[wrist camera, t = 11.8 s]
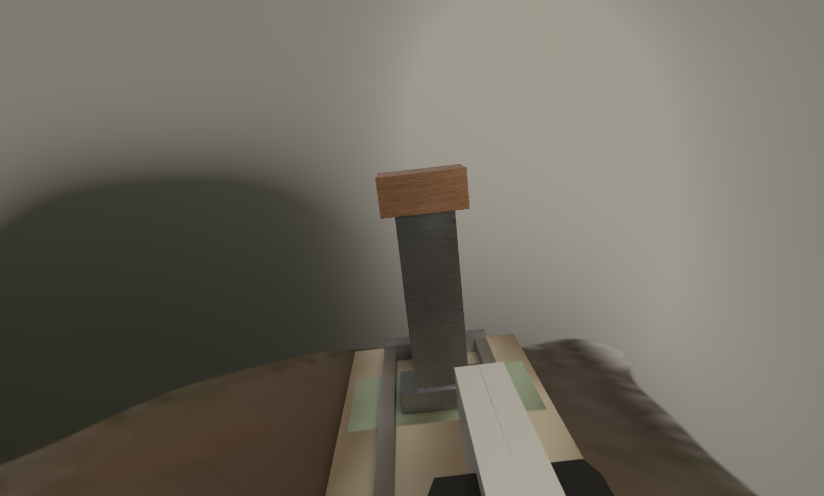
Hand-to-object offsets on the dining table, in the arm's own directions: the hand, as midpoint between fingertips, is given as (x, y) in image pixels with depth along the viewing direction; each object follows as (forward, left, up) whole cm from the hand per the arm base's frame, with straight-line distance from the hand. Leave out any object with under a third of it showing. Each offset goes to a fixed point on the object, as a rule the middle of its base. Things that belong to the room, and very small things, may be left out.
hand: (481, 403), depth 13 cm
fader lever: (-1, +11, -7) cm, 13 cm away
